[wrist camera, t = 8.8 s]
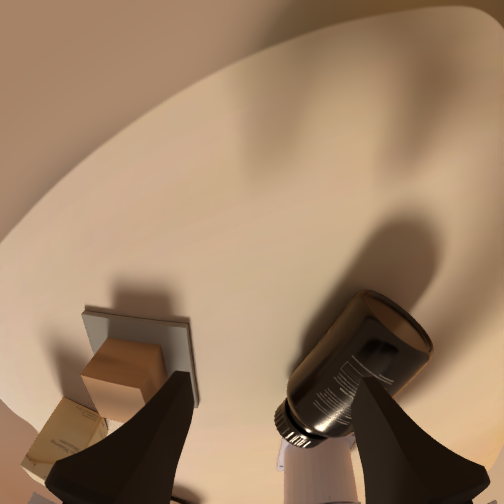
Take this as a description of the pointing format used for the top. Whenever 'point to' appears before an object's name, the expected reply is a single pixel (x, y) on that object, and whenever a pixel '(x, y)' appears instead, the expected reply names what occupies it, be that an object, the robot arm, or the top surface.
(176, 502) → the spread jar
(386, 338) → the supplement bottle
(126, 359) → the walnut cube
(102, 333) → the slate mat
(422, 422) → the top surface
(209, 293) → the top surface
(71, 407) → the skincare box
